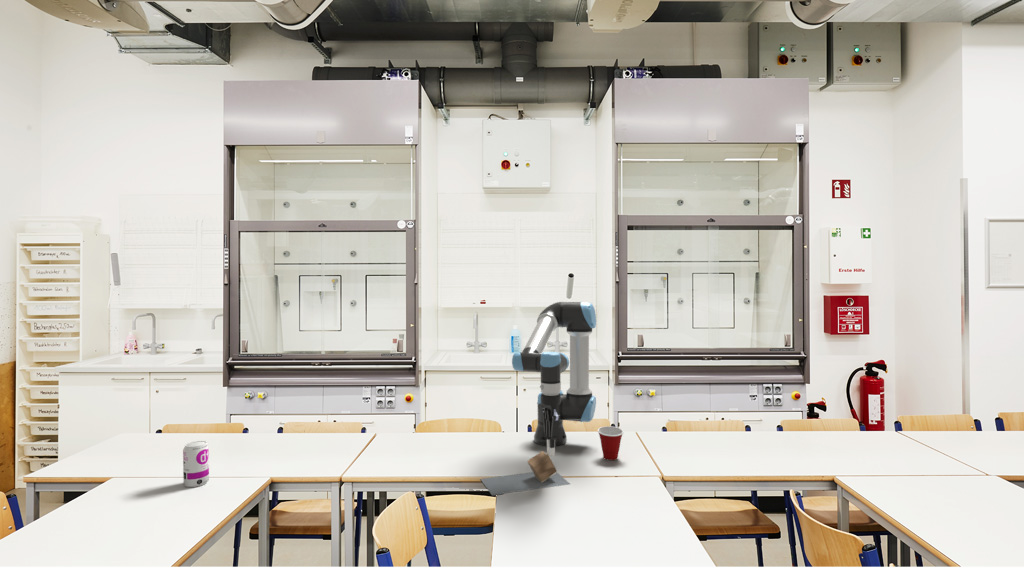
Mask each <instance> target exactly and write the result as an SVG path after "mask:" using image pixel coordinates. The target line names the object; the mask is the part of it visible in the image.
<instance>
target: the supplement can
mask: <svg viewBox="0 0 1024 568" xmlns="http://www.w3.org/2000/svg"><path fill="white" fill-rule="evenodd" d="M209 455H210V453H209V445H208V443H207V441H206V440H197V441H191V442H187V443H185V445H184V448H183V449H182V459H183V461H182V462H183V463H182V464H183V468H182V470H183V471H182V472H183V475H182V477H183V486H185V487H186V488H197V487H202V486H205V485H206V484H207V483H208V482H209V480H210V463H209V462H210V456H209Z"/></svg>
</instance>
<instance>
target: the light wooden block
mask: <svg viewBox="0 0 1024 568" xmlns="http://www.w3.org/2000/svg"><path fill="white" fill-rule="evenodd" d="M527 463H528V465H529V466H530V469H531V472H533V473H534V475H535V476H536V477H537V478H538V479H539V480H540V481H541V482H542V483H543V482H544V481H545V480H547V479H548V478H550V477H551V476H553V475H554V474H556V473H558V470H557V469H556V466H555V465H554V463H553V461H552V459H551V456H548V455H547V452H545V451H543V450H541V451H540V452H539V453H537V454H536V455H534V456H533V457H531V458H529V459H528V460H527Z"/></svg>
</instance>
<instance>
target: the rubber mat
mask: <svg viewBox="0 0 1024 568" xmlns="http://www.w3.org/2000/svg"><path fill="white" fill-rule="evenodd" d="M479 480H480V481H481V483H483V485H484V486H485V488H486V489H487V491H488V492H489V494H490V495H491V496H501V495H504V494H509V493H516V492H524V491H532V490H538V489H539V490H540V489H545V488H546V489H547V488H551V487H552V488H554V487H559V486H560V487H561V486H567V485H571V483H570V482H569V481H568V480H567V479H565V478H564V477H563V476H562V475H561V474H560V473H558V472H557V473H556V474H554V475H553V476H551V477H550V478H548V479H547V480H545V481H544V482H543V483H542V482H541V481H540V480H539V479H538V478H537V477H536V476H535V475H534V473H533V471H531V472H523V473H515V474H508V475H507V474H506V475H499V476H491V477H485V478H480V479H479Z"/></svg>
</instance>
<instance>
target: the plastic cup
mask: <svg viewBox="0 0 1024 568" xmlns="http://www.w3.org/2000/svg"><path fill="white" fill-rule="evenodd" d="M597 433H598V434H599V435H598V436H599V439H600V445H601V451H602V456H603V459H604V458H605V459H604V460H607V459H608V461H615V459H616V460H618V457H619V451H620V446H621V442H622V441H621V440H622V437H623V435H624V430H623V429H622V428H620V427H616V426H611V425H607V426H600V427H599V428H597Z"/></svg>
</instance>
